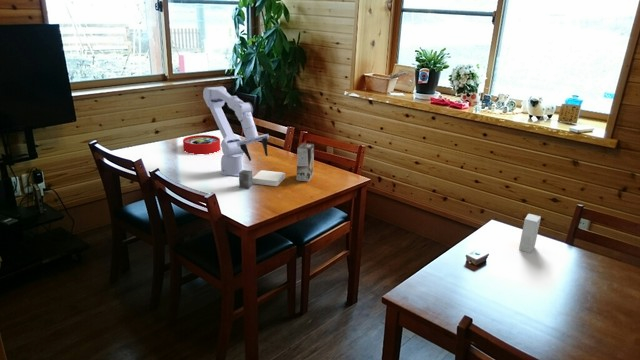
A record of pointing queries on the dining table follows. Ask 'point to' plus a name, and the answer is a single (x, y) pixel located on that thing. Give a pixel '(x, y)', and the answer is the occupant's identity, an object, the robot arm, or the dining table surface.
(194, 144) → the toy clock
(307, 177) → the coffee box
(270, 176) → the plinth
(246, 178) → the block
